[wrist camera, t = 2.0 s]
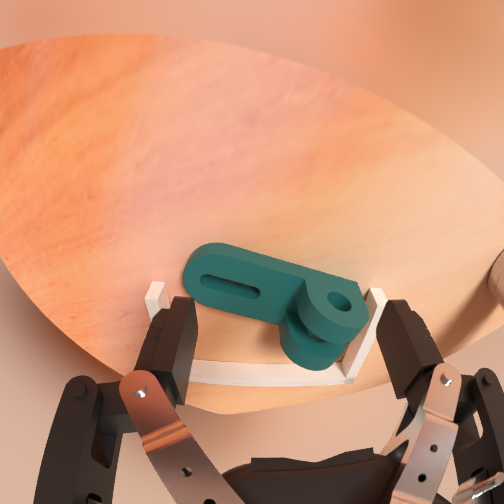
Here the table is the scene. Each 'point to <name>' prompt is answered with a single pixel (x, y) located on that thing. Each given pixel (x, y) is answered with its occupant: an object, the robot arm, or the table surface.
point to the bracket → (280, 300)
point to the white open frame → (281, 372)
